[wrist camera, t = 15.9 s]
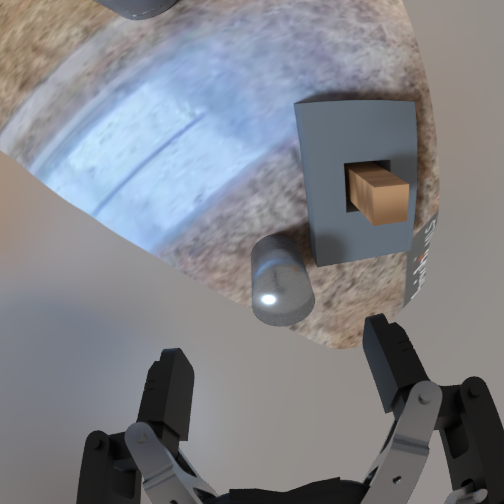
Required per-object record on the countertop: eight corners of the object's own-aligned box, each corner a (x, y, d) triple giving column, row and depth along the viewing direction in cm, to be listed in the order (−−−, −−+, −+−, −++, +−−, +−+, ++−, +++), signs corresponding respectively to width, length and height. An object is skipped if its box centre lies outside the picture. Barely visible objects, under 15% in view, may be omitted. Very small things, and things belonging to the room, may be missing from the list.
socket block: (293, 103, 28) (300, 103, 24) (398, 100, 27) (414, 101, 23) (311, 251, 38) (317, 267, 34) (398, 236, 37) (410, 250, 33)
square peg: (341, 163, 31) (374, 187, 23) (369, 160, 31) (409, 184, 22) (342, 192, 33) (373, 226, 25) (370, 189, 33) (406, 221, 24)
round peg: (246, 239, 37) (246, 284, 28) (298, 230, 36) (313, 274, 28) (255, 280, 40) (257, 330, 32) (302, 272, 40) (315, 321, 31)
